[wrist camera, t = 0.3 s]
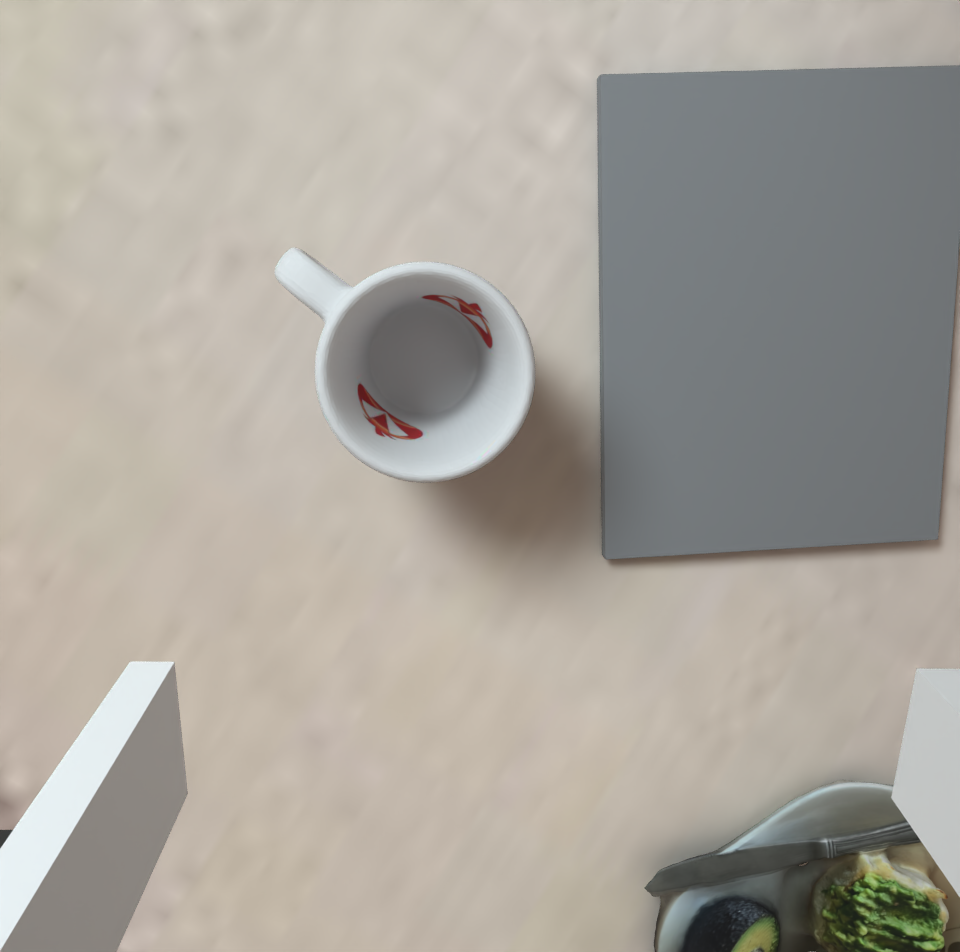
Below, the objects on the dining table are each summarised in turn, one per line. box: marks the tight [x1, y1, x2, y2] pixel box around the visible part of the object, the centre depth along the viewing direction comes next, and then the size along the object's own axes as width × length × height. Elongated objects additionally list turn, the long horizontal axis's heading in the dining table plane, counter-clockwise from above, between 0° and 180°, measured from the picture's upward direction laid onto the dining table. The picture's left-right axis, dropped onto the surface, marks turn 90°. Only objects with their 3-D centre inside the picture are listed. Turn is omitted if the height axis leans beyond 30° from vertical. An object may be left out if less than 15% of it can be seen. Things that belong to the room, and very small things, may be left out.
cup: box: [275, 248, 535, 483], centre depth 36 cm, size 11×8×8 cm
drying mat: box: [597, 65, 960, 559], centre depth 40 cm, size 21×16×1 cm
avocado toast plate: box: [645, 780, 960, 952], centre depth 45 cm, size 19×18×5 cm
